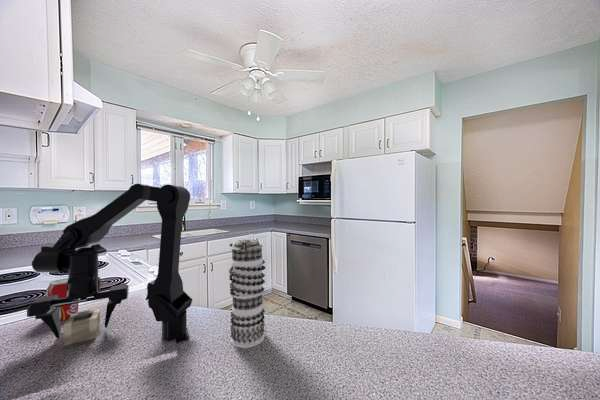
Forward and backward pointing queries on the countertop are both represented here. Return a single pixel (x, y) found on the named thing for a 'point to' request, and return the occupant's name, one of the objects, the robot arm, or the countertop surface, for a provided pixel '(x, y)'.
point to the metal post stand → (101, 336)
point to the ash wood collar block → (81, 328)
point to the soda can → (60, 290)
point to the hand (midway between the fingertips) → (83, 332)
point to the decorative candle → (247, 294)
